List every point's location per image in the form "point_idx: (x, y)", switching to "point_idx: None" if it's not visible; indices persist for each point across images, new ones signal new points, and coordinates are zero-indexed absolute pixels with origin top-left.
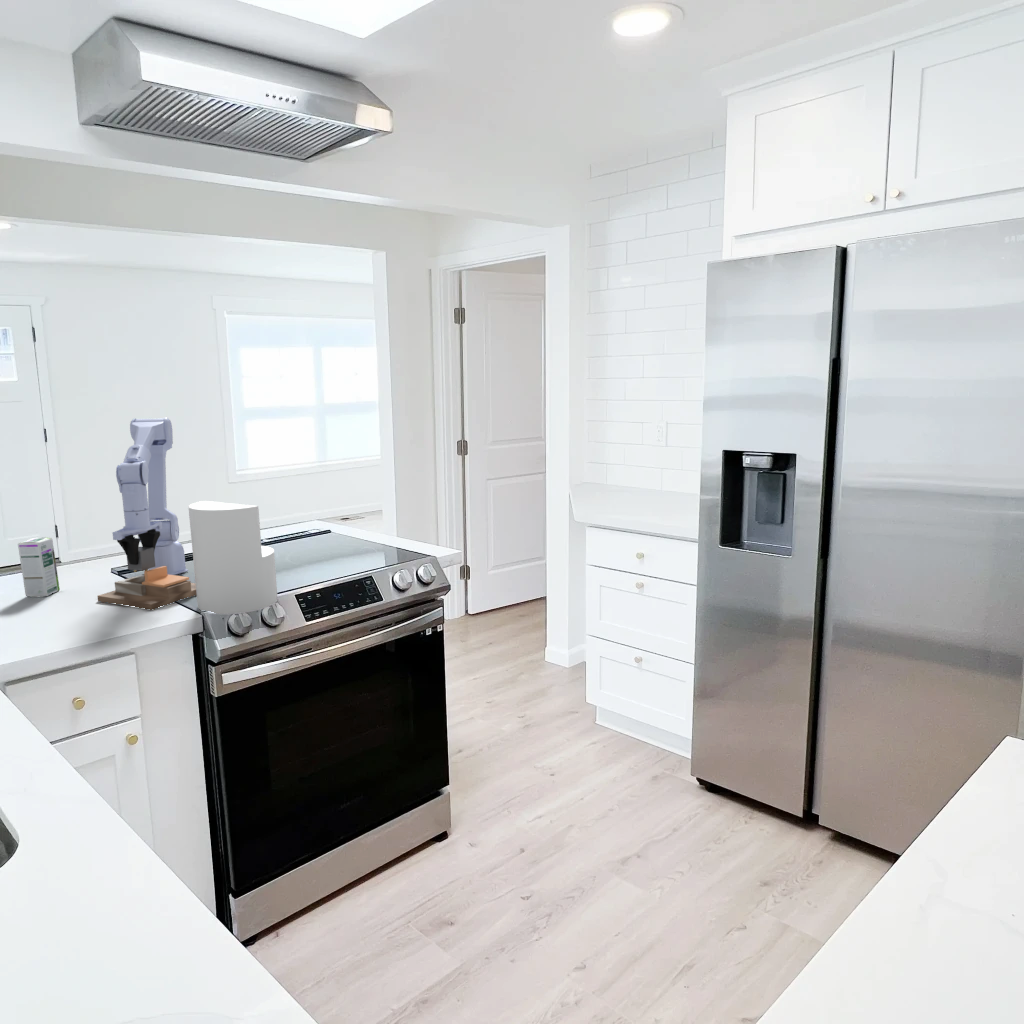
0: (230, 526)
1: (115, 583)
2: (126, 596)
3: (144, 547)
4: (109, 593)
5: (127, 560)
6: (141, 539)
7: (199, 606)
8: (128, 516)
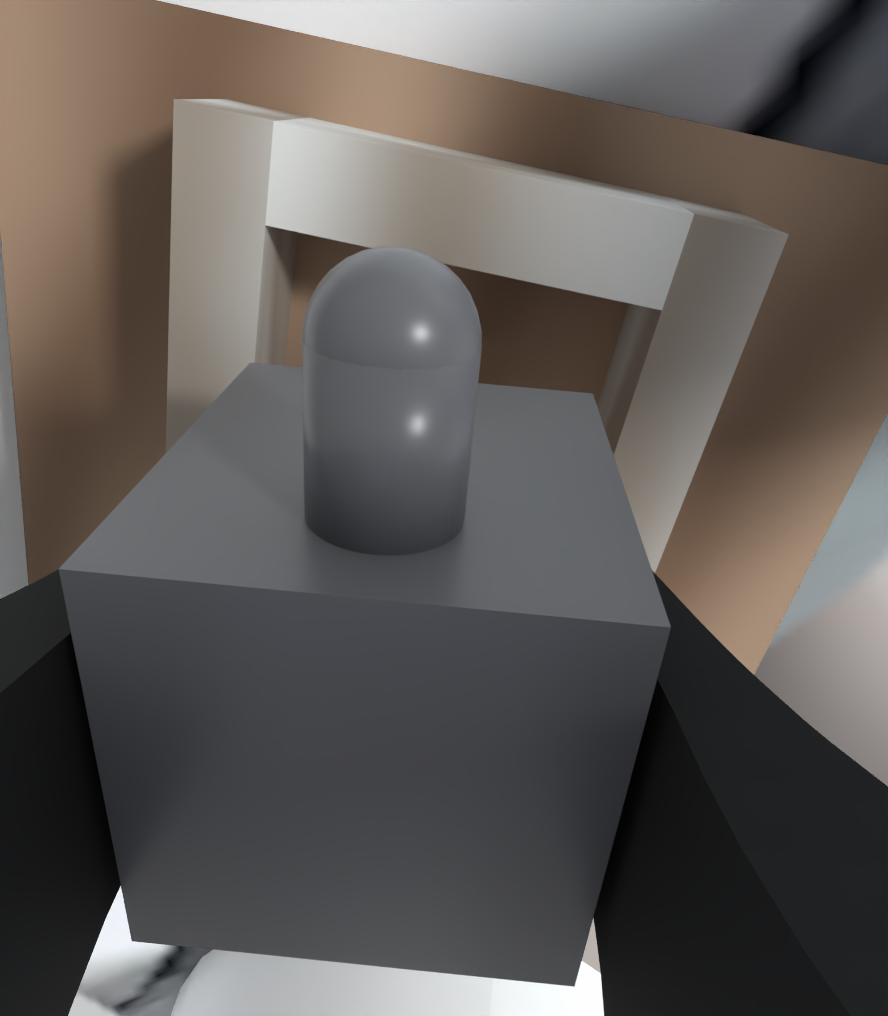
0: None
1: (177, 121)
2: (121, 406)
3: (565, 812)
4: (130, 71)
5: (184, 443)
6: (752, 937)
7: (192, 985)
8: None
